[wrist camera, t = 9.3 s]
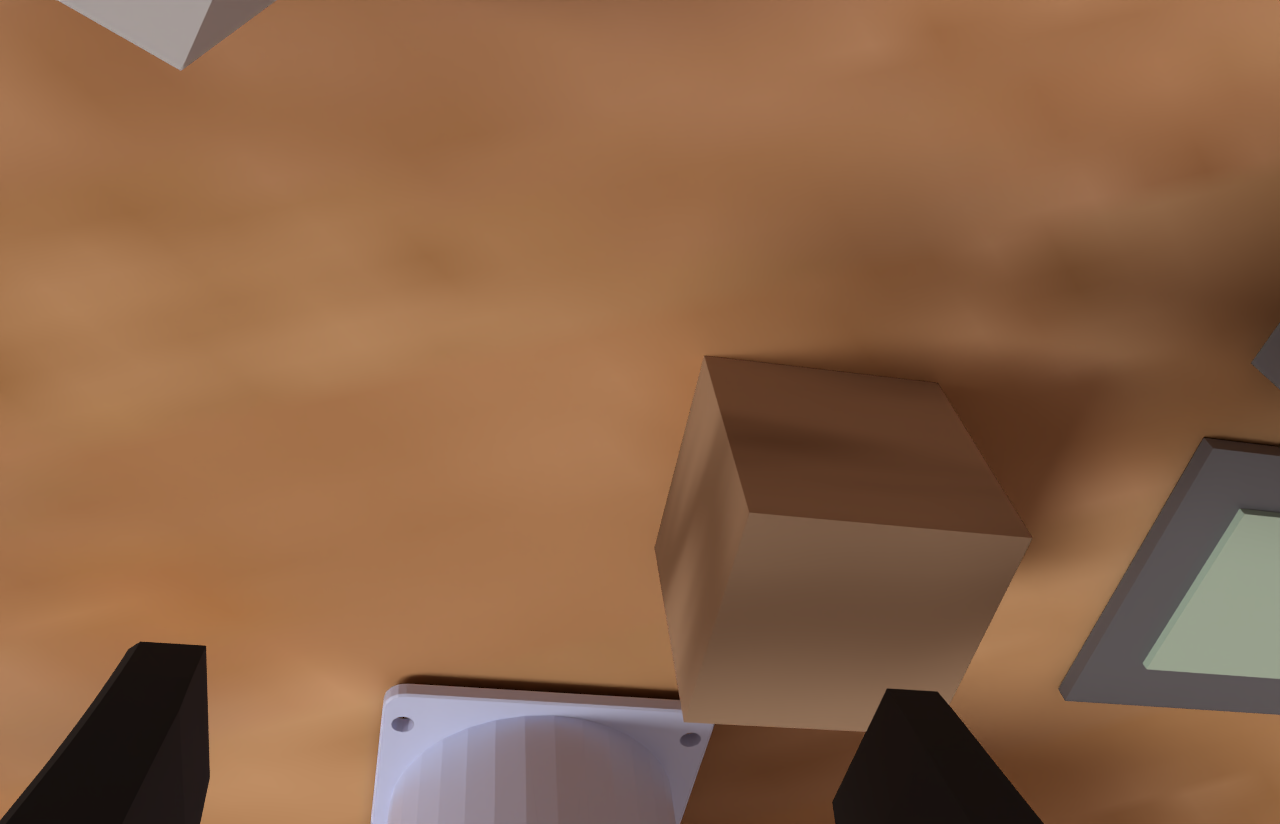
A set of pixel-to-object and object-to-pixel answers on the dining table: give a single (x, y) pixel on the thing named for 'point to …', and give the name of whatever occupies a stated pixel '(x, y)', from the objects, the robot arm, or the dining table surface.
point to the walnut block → (826, 546)
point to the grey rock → (171, 23)
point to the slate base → (1270, 358)
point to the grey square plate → (1197, 596)
